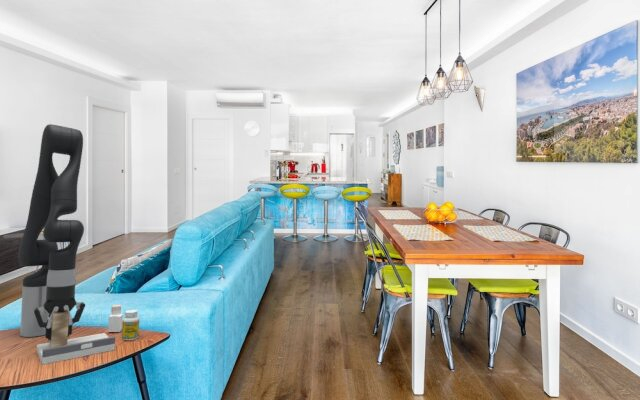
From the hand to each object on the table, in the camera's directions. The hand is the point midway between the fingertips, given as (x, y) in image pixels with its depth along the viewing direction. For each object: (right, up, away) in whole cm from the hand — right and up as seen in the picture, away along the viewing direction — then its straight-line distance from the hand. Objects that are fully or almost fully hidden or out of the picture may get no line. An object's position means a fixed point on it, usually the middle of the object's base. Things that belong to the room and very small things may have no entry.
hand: (58, 337), depth 119 cm
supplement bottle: (+16, -6, +14) cm, 22 cm away
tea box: (0, -2, 0) cm, 2 cm away
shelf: (+4, -5, +2) cm, 7 cm away
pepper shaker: (+7, -5, +21) cm, 23 cm away
